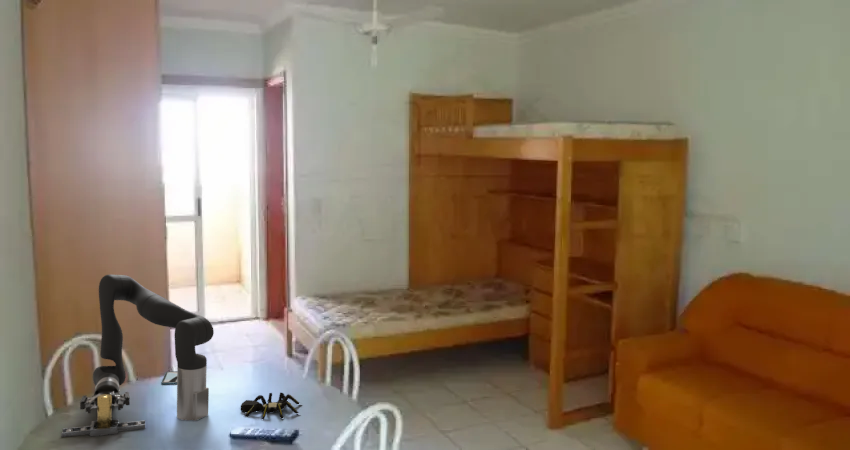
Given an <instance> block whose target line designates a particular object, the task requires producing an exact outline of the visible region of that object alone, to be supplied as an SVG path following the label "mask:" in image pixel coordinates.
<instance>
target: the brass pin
mask: <svg viewBox="0 0 850 450" xmlns="http://www.w3.org/2000/svg"><path fill="white" fill-rule="evenodd" d="M112 406H113V405H112V395H110V394H103V395H99V396H98V407H97V408H96V409H97V410H96V411H97V415H96V416H97V419H96V420H97V427H96V429H98V428H107V427H113V426H112V419H113V418H112V413H113V410H112Z"/></svg>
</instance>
